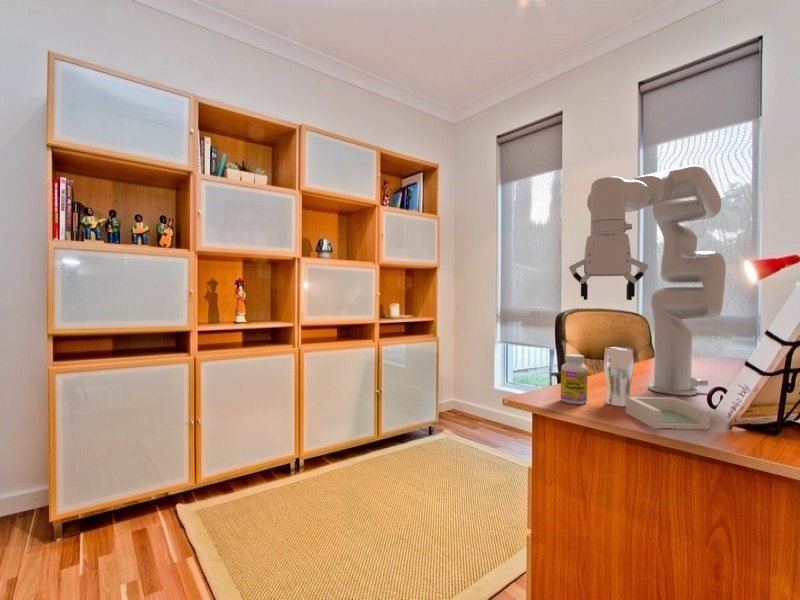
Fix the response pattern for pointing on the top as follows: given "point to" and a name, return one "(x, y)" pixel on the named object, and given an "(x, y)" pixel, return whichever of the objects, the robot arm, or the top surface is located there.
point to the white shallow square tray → (667, 413)
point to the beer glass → (618, 374)
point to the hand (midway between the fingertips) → (606, 299)
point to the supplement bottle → (574, 380)
